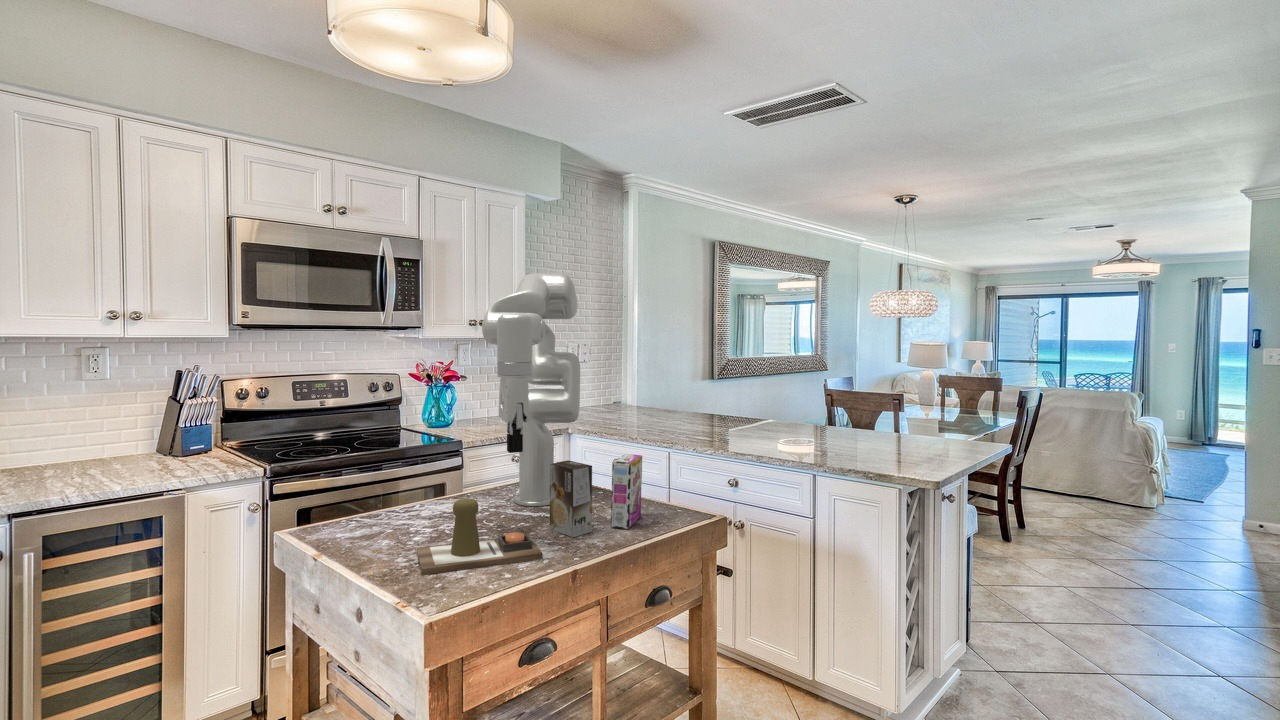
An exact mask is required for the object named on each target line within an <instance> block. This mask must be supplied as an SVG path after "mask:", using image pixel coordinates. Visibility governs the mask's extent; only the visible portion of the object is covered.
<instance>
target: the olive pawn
mask: <svg viewBox="0 0 1280 720" xmlns="http://www.w3.org/2000/svg"><path fill="white" fill-rule="evenodd" d="M478 512H479V503H478V501H477V500H476V499H474V498H469V497H468V498H461V499H457V500H456V501H455V502H453V505H452V513H453V515H454V517H455V518H454V526H453V533H452V540H451V544H452V547H451V554H452V555H454V556H459V557H465V556H472V555H475V554H478V553H479V552H480V544H479V540H480V539H479V538H480V537H479V530H478V524H477V522H478V521H477V514H478Z"/></svg>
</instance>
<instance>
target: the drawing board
mask: <svg viewBox="0 0 1280 720" xmlns="http://www.w3.org/2000/svg"><path fill="white" fill-rule="evenodd" d="M522 533H523V534H524V542H516V543H508V544H505V535H498V536H497V537H496V538H489V539H479V544H480V552H479V553H478V554H475V555H472V556H465V557H459V556H454V555H452V554H451V547H452V543H447V544H438V545H430V546H428V545H427V546H421V547H416V549H417V550H416V554H417V558H418V563H419V567H420V571H421V575H422V576H425V575H426V576H427V575H434V574H440V573H447V572H448V573H449V572H455V571H461V570H463V571H464V570H469V569H470V570H471V569H477V568H485V567H492V566H493V567H494V566H499V565H500V566H501V565H508V564H514V563H515V564H516V563H521V562H528V561H529V562H530V561H536V560H537V559H538V560H543V559H544V552H543V551H542V550H541V549H540V548H539V547H538V545H537V544H536V542H535V541H534V540H533V539H532V538H531V536H530V535H529V534H527V533H525V532H522ZM538 560H537V561H538Z"/></svg>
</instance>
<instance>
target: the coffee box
mask: <svg viewBox="0 0 1280 720" xmlns="http://www.w3.org/2000/svg"><path fill="white" fill-rule="evenodd" d="M549 530H550V531H554V532H557V533H559V534H561V535H562V534H563V535H566V536H569V537H571V538H576V537H579V536H583V535H586V534H590V533H592V531H593V465H590V464H586V463H581V462H577V461H572V460H563V461H557V462H554V463H553V464H550V505H549ZM589 532H590V533H589Z"/></svg>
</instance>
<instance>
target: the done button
mask: <svg viewBox="0 0 1280 720" xmlns="http://www.w3.org/2000/svg"><path fill="white" fill-rule="evenodd" d="M523 533H524V532H520V531H514V532H509V533H506V534H505V535H504V536H505V544H508V543H516V542H524V534H523Z"/></svg>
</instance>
